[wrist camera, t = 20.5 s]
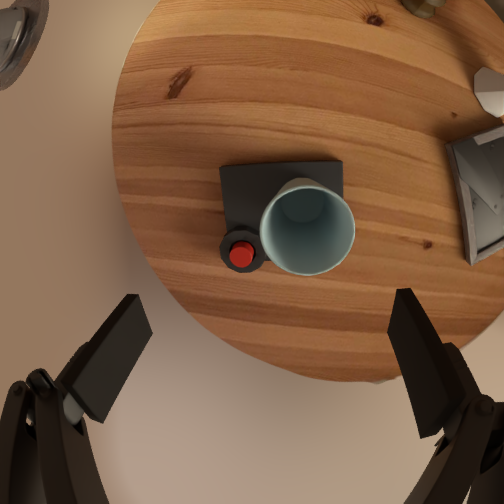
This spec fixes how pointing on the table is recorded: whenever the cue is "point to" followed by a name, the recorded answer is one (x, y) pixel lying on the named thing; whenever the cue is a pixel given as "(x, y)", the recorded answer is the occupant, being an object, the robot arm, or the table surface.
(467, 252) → the picture frame
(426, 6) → the kendama
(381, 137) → the table surface
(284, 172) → the scale
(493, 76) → the flask
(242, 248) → the button
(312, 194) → the cup
